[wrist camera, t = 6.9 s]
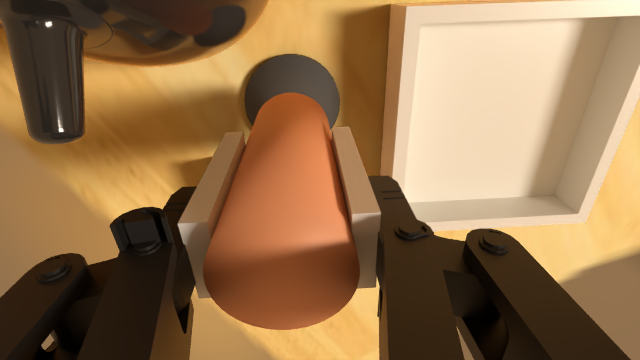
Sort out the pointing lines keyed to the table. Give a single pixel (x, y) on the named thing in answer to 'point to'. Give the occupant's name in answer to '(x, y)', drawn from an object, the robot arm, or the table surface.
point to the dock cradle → (507, 107)
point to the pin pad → (292, 84)
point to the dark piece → (107, 47)
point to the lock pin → (284, 224)
